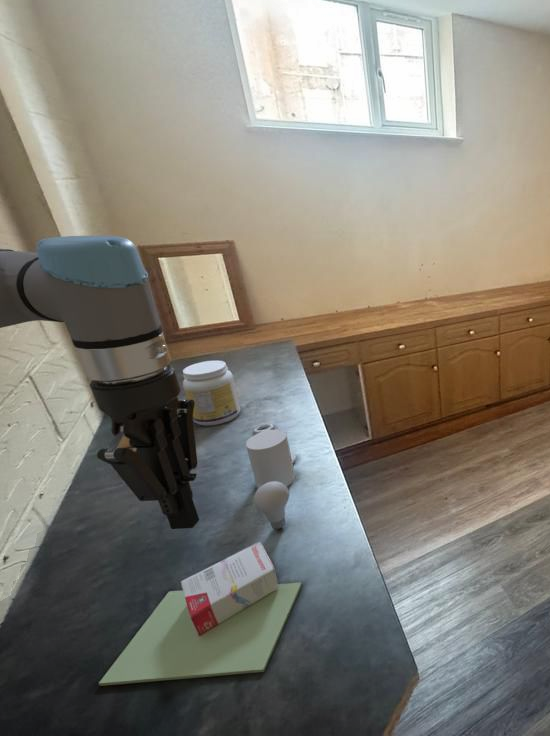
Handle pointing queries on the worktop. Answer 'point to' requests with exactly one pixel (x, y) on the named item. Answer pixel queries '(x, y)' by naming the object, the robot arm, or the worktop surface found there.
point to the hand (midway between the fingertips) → (185, 524)
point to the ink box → (229, 587)
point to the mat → (203, 641)
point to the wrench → (257, 430)
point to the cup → (271, 457)
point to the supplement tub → (211, 392)
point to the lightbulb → (272, 502)
